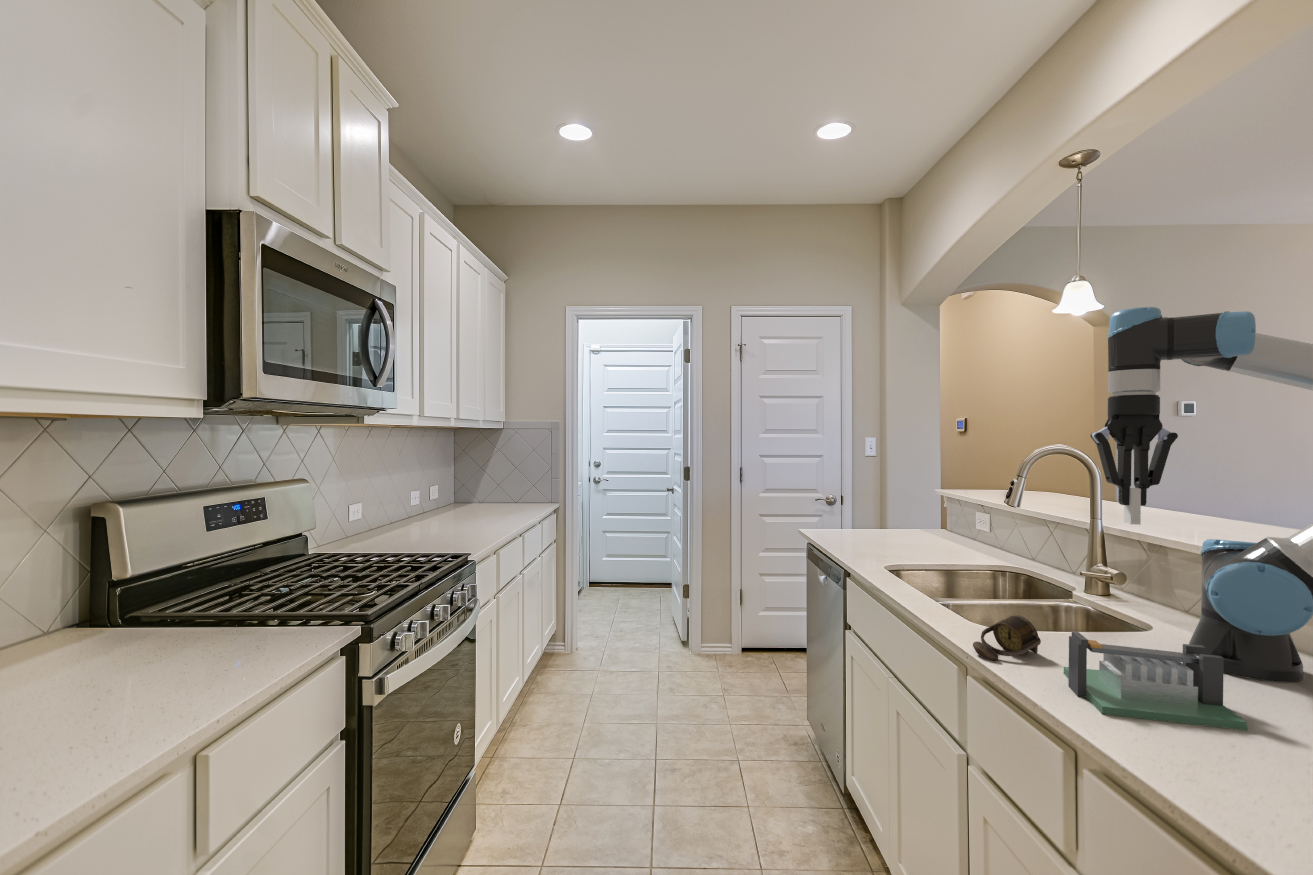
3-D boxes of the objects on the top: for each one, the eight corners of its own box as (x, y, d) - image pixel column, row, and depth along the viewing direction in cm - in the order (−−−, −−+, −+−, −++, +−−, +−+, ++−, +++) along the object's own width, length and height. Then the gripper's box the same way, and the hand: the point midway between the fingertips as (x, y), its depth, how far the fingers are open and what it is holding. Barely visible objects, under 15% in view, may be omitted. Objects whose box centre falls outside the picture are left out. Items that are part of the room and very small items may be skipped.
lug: (1078, 687, 102) (1078, 631, 102) (1087, 697, 98) (1088, 639, 98) (1068, 686, 102) (1069, 631, 102) (1077, 696, 98) (1078, 639, 98)
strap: (1197, 659, 96) (1197, 651, 96) (1207, 665, 94) (1207, 657, 94) (1084, 647, 101) (1084, 639, 101) (1090, 652, 98) (1090, 644, 98)
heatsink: (1169, 684, 100) (1169, 652, 100) (1197, 706, 92) (1198, 671, 92) (1099, 677, 103) (1099, 646, 103) (1120, 698, 95) (1121, 664, 95)
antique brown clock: (1058, 635, 112) (1026, 608, 122) (990, 629, 112) (964, 602, 121) (1048, 669, 113) (1018, 640, 123) (982, 664, 113) (956, 634, 123)
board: (1184, 685, 103) (1184, 678, 103) (1247, 730, 87) (1247, 722, 87) (1063, 673, 108) (1063, 666, 108) (1102, 713, 92) (1102, 706, 92)
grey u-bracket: (1201, 690, 98) (1202, 645, 98) (1223, 705, 92) (1223, 657, 92) (1182, 688, 98) (1182, 643, 98) (1202, 703, 93) (1203, 656, 93)
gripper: (1165, 395, 112) (1163, 521, 112) (1083, 396, 115) (1082, 518, 116) (1188, 392, 105) (1186, 528, 105) (1100, 394, 108) (1099, 524, 109)
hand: (1132, 523), depth 110 cm, fingers closed
